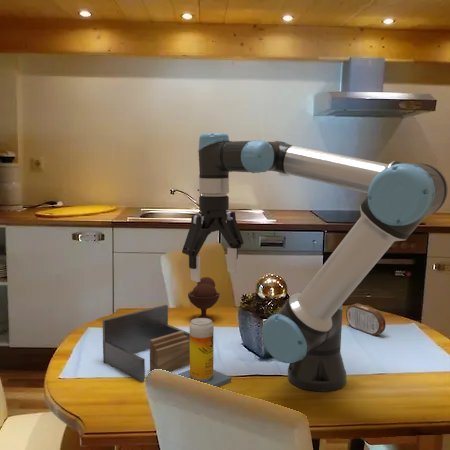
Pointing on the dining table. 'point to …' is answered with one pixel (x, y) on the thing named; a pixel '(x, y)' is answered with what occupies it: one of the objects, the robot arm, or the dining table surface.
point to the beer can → (201, 349)
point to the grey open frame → (134, 338)
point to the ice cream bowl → (204, 295)
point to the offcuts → (170, 352)
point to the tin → (365, 319)
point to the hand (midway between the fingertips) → (214, 276)
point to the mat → (212, 378)
